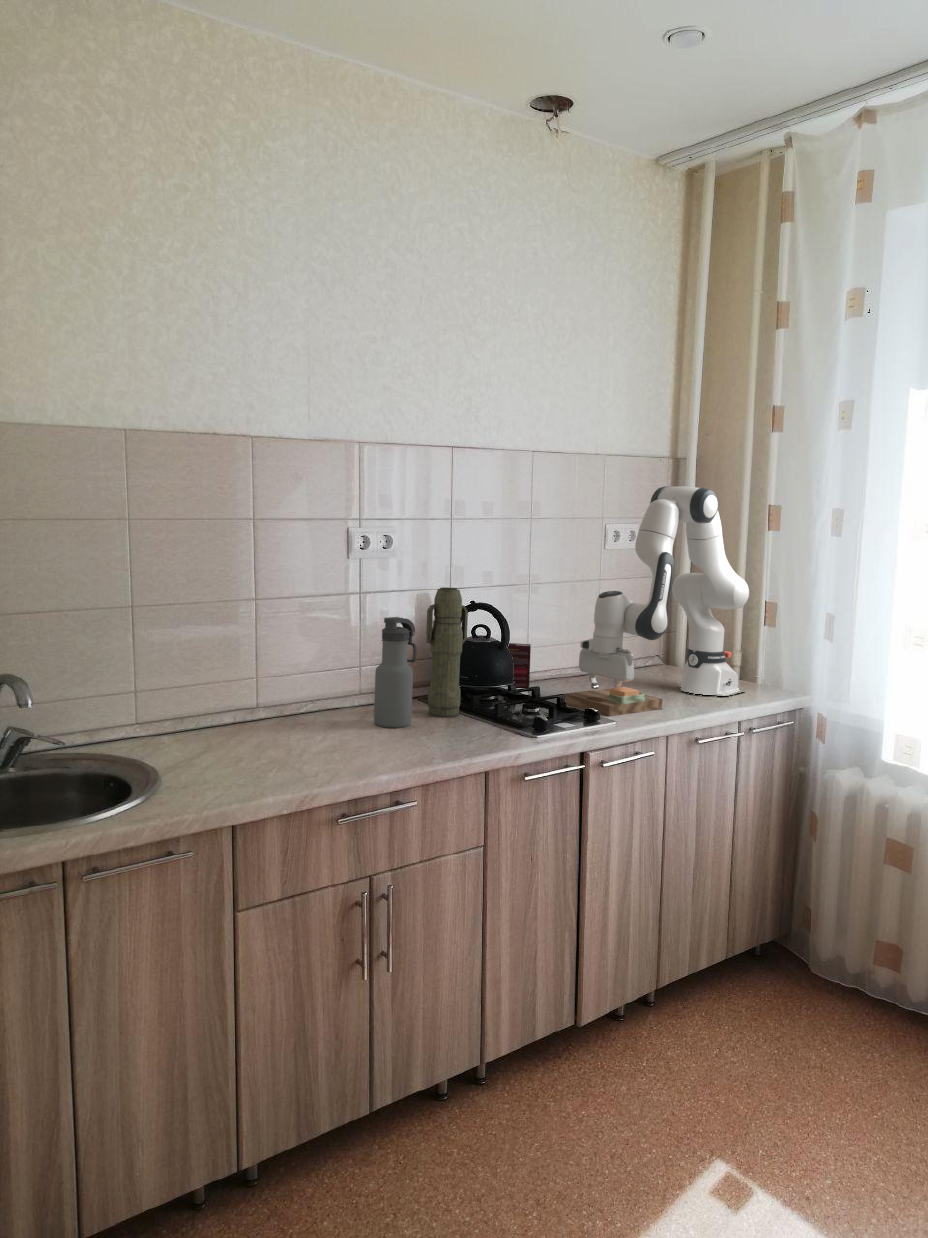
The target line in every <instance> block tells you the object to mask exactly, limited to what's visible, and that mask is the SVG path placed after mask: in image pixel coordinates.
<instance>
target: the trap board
mask: <svg viewBox="0 0 928 1238" xmlns="http://www.w3.org/2000/svg"><path fill="white" fill-rule="evenodd" d="M610 688H611V687H610ZM610 688H602V689H593V690H583V691H575V692H567V693H566V692H565V693H564V694H563V696H564V695H565V700H566V704H565V705H568V706H572V707H574V708H579V709H582V710H585V709H586V708H594V709H596V710H598V711H599V713H600V714H599V713H598V714H599V715H603V716H607V717H612V716H613V717H614V716H620V715H627V714H628V715H629V714H637V713H643V712H649V711H657V710H658V711H659V710H662V709H663V698H659V697H656V696H651V695H648V694H647V693H643V692H640V691H639V695H632V696H624V697H621V696H617V695H613V694H610Z"/></svg>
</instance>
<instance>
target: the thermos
mask: <svg viewBox="0 0 928 1238" xmlns="http://www.w3.org/2000/svg"><path fill="white" fill-rule="evenodd" d="M433 599H434V601H433V602H434V603H433V604H431V605H429V607H428V608H427V611H426V634H425V635H426V643H427V644H430V647H429V650H430V653H431V665H430V667H431V669H430V686H429V688H428V692H427V693H428V695H427V698H428V699H427V705H428V712H427V714H428V715H429V716H431V717H435V718H448V719H449V718H456V717H458V716H460V706H461V696H462V695H461V688H460V673H461V672H460V669H461V668H460V667H461V655H462V653H463V644H464V643H465V642H466V641H467V640H468V620H469V610H468V608H467V607H466V606H465V605H463V599H462V594H461V591H460V589H458V588H456V587H448V586H447V587H445V586H443V587H440V588H438V589H437V591H436V594H435V596H434V598H433ZM433 617H434V618H433ZM433 619H434V620H433Z"/></svg>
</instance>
